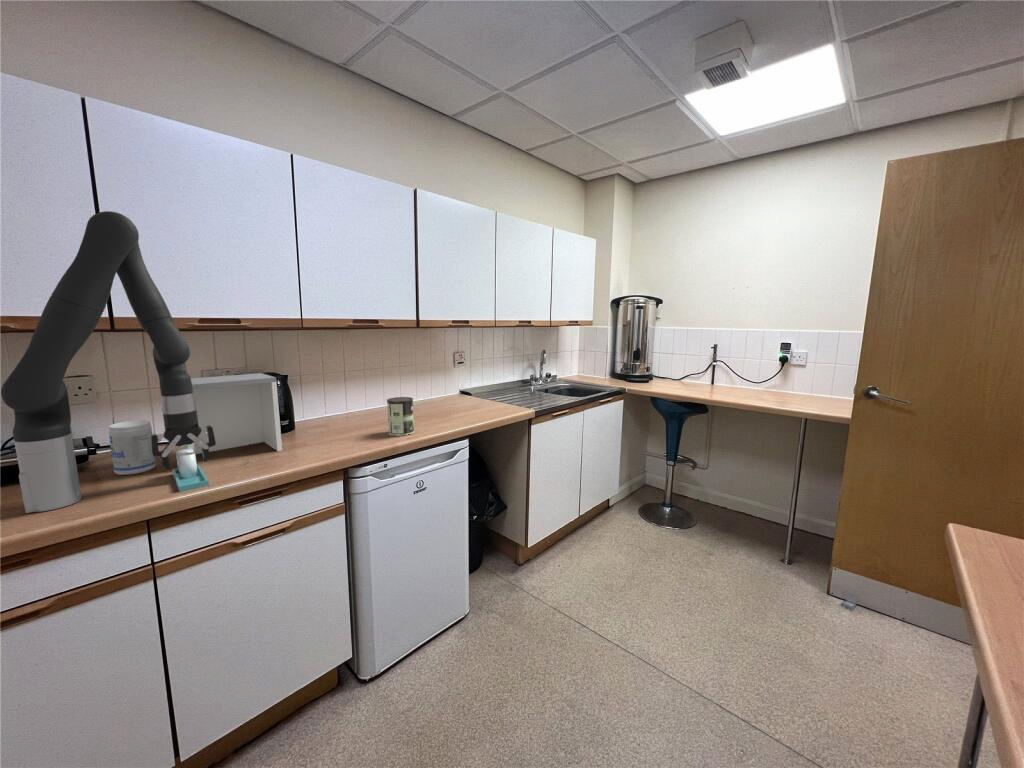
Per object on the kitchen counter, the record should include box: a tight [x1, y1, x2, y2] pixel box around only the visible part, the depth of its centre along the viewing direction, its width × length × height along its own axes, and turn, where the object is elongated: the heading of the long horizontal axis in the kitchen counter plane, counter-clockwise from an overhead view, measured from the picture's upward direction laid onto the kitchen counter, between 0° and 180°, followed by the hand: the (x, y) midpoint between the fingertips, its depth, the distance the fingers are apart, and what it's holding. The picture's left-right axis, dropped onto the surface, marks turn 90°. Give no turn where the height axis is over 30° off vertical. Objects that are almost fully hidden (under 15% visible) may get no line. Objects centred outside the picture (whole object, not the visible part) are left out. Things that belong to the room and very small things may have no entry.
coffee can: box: [386, 396, 415, 437], centre depth 169 cm, size 10×10×14 cm
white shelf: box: [180, 372, 283, 455], centre depth 142 cm, size 26×18×26 cm
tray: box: [171, 449, 210, 493], centre depth 118 cm, size 18×6×8 cm, turn 44°
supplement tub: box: [108, 420, 156, 476], centre depth 126 cm, size 10×10×15 cm
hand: (187, 464), depth 120 cm, fingers open, 8 cm apart
